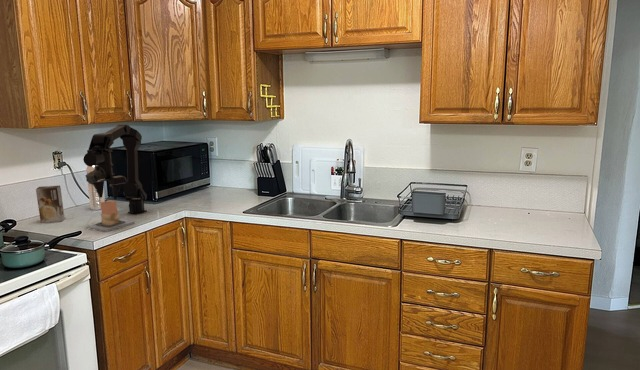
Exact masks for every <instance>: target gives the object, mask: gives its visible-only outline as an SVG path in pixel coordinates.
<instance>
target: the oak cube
mask: <svg viewBox="0 0 640 370" xmlns="http://www.w3.org/2000/svg"><path fill="white" fill-rule="evenodd" d="M100 216H101V217H100V218H101V222H102V224H103V225H109V226H110V225H113V224H116V223H119V219H120V215H119V212H118V211H117V213H113V214H110V215H107V214H102V213H100Z"/></svg>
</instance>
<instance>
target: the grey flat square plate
mask: <svg viewBox="0 0 640 370" xmlns="http://www.w3.org/2000/svg"><path fill="white" fill-rule="evenodd" d="M133 224H134V225H135V224H136V222H135V221H133V220H127V219H120V218H119V223H116V224H113V225H110V226H109V225H103V224H102V221H101V222H97V223H94V224H91V225H87V226H85V228H86V229H87V228H90V229H89V230H93V229H95V230H94V231H99V230H101V231H100V232H104V231H106V232H105V233H108V232H111V231H113V230H117V228H118V229H120V228H124V227H126V226H131V225H133ZM110 230H111V231H110ZM107 231H108V232H107Z"/></svg>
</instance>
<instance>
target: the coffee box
mask: <svg viewBox="0 0 640 370" xmlns="http://www.w3.org/2000/svg"><path fill="white" fill-rule="evenodd" d="M35 193H36V194H35V195H36V200H37V206H38V213H39V221H40V224H45V223H46V224H47V223H48V224H49V223H57V222H58V223H59V222H63V221H64V220H65V218H66V217H65V212H64V211H65V210H64V202H63V197H62V196H63V195H62V188H61V185H46V186H45V185H44V186H38V187H37V188H36V189H35Z"/></svg>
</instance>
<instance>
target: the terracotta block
mask: <svg viewBox="0 0 640 370" xmlns="http://www.w3.org/2000/svg"><path fill="white" fill-rule="evenodd" d="M104 201H105V202H101V209H100V211H101V214H107V215H110V214H113V213H117V212H118V205H117V201H116V200H104Z"/></svg>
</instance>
